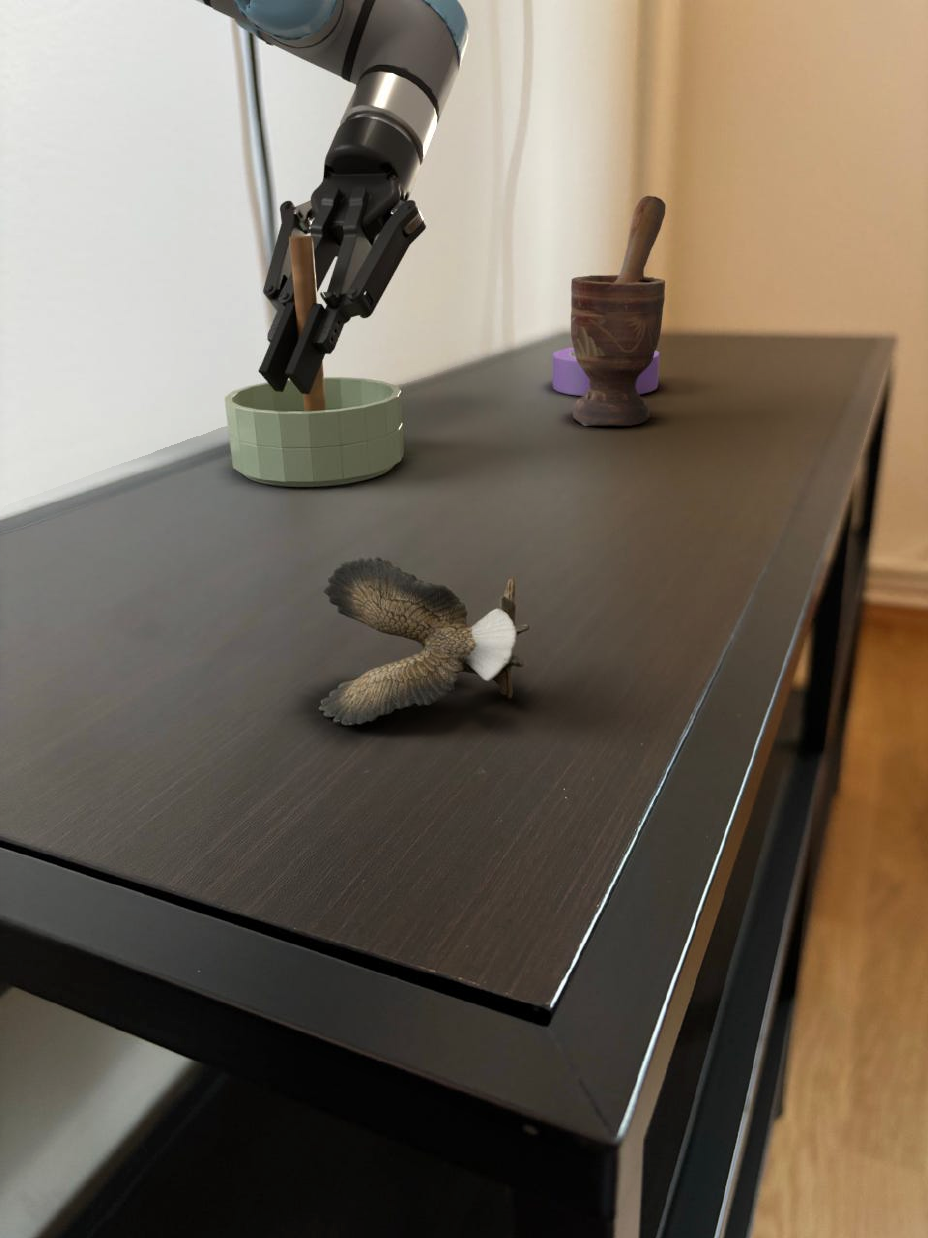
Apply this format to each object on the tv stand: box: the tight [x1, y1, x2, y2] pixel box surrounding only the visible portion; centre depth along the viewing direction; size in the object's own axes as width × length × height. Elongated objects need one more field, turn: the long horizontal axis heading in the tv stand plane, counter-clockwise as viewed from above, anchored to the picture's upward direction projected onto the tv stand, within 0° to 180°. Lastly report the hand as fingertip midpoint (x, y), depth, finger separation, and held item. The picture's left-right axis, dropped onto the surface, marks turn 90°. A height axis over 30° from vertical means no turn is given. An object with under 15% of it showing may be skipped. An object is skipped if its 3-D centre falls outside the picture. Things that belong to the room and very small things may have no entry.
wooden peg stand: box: [289, 235, 326, 411], centre depth 79 cm, size 6×6×17 cm
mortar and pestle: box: [570, 195, 667, 427], centre depth 94 cm, size 12×9×20 cm
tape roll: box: [552, 347, 660, 397], centre depth 110 cm, size 12×12×4 cm
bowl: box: [224, 376, 405, 488], centre depth 82 cm, size 14×14×6 cm
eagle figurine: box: [318, 556, 530, 726], centre depth 45 cm, size 8×7×9 cm
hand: (284, 382), depth 77 cm, fingers closed on wooden peg stand, 2 cm apart
